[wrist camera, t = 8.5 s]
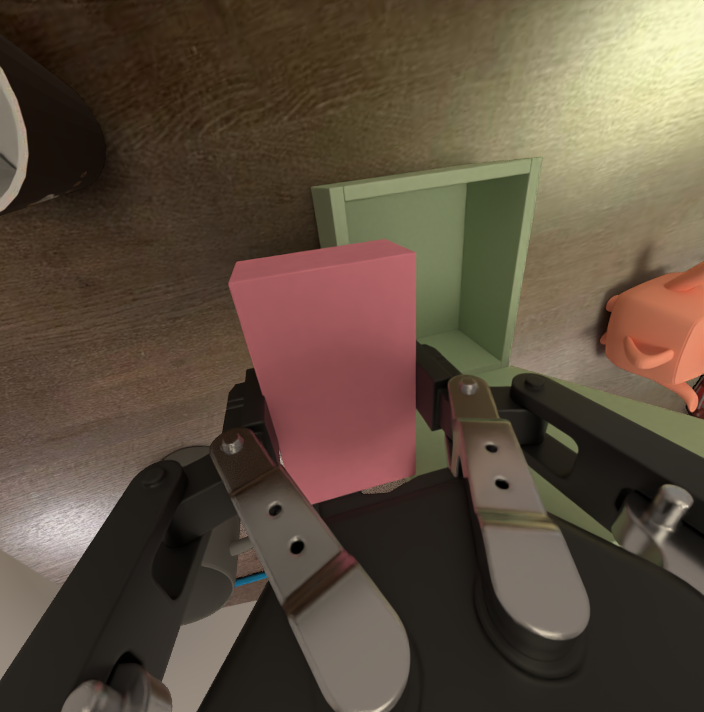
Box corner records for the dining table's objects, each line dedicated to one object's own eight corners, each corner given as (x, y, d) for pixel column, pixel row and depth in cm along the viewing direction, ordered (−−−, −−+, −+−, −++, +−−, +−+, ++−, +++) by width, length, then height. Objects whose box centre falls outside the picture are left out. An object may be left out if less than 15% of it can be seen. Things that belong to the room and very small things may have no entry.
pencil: (290, 566, 47) (290, 571, 46) (168, 602, 43) (166, 608, 43) (289, 563, 46) (289, 568, 46) (166, 599, 43) (164, 605, 42)
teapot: (563, 327, 37) (654, 371, 29) (644, 238, 34) (774, 258, 25) (613, 371, 44) (699, 417, 35) (685, 299, 40) (800, 331, 32)
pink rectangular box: (235, 261, 11) (227, 282, 8) (385, 238, 12) (416, 252, 9) (292, 460, 16) (297, 509, 13) (394, 433, 17) (416, 475, 14)
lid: (486, 590, 9) (503, 720, 10) (838, 456, 11) (822, 575, 12) (359, 405, 25) (371, 461, 26) (511, 365, 27) (516, 419, 28)
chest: (310, 186, 24) (328, 188, 17) (471, 163, 26) (543, 156, 19) (339, 359, 32) (359, 406, 25) (460, 331, 34) (508, 367, 27)
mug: (180, 513, 36) (149, 642, 26) (133, 464, 32) (72, 598, 21) (292, 471, 37) (303, 578, 27) (262, 417, 33) (263, 523, 23)
